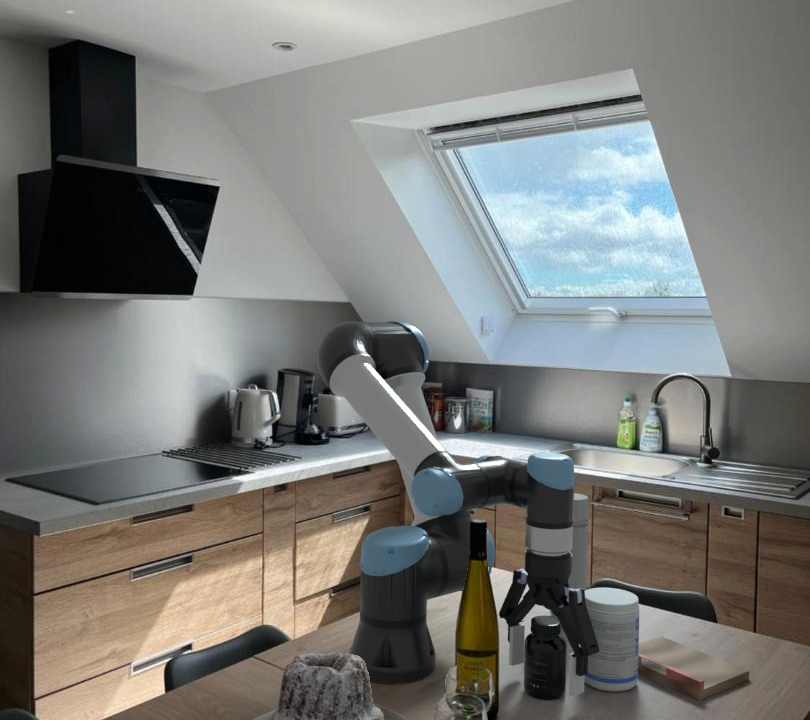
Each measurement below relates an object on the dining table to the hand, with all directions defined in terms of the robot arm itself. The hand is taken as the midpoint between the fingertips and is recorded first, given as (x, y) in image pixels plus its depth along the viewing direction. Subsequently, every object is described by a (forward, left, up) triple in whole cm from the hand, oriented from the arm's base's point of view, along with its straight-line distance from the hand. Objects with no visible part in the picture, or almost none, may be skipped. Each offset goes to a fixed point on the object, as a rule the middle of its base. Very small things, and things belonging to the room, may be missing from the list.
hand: (545, 678), depth 137 cm
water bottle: (-22, +29, -3) cm, 37 cm away
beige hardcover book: (+7, +26, -2) cm, 27 cm away
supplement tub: (+3, +12, -3) cm, 13 cm away
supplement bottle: (0, 0, -3) cm, 3 cm away
